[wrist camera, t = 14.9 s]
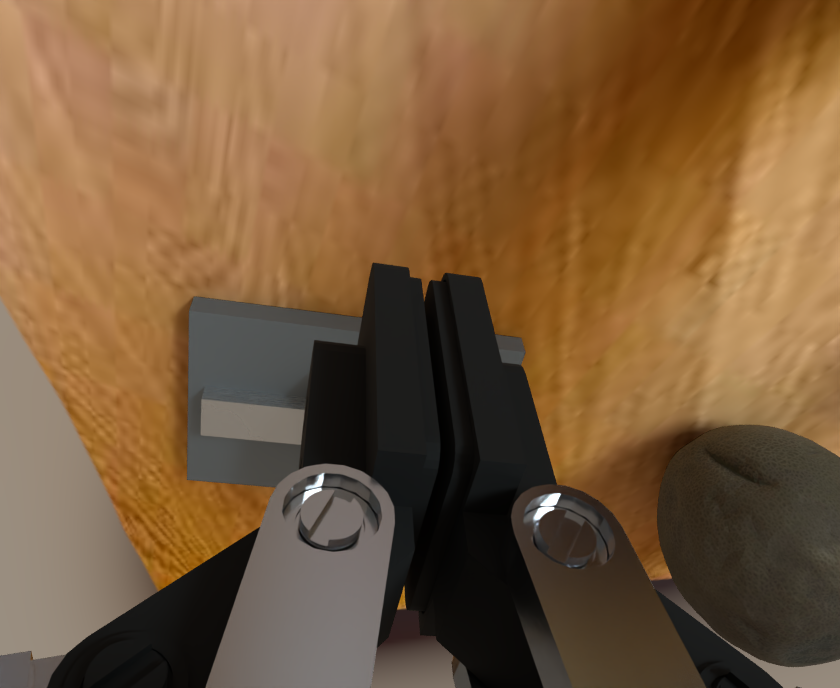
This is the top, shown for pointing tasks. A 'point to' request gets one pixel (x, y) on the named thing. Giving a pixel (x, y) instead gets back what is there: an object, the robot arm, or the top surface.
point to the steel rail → (252, 415)
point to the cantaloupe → (757, 540)
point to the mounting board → (261, 378)
